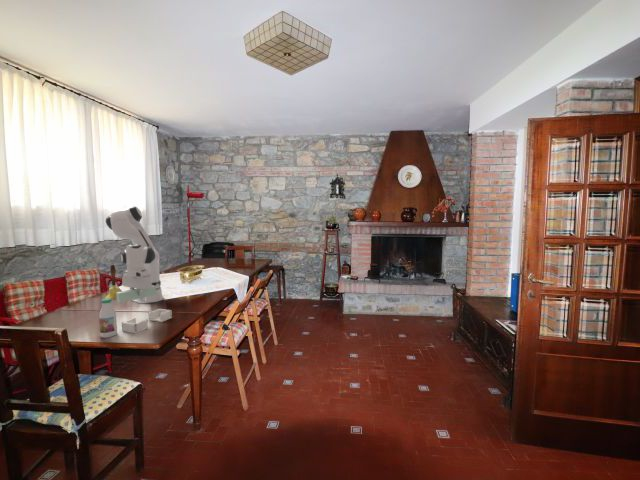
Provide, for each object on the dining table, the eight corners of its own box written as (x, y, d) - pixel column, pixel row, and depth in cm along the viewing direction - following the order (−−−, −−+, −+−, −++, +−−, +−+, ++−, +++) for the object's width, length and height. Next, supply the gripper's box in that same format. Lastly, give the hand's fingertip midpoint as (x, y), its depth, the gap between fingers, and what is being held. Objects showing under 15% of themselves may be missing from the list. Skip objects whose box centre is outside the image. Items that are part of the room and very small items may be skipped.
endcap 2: (159, 315, 204) (159, 308, 203) (171, 317, 200) (171, 310, 200) (149, 320, 196) (148, 312, 196) (161, 322, 193) (161, 314, 192)
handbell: (117, 299, 241) (115, 266, 238) (101, 299, 241) (98, 266, 239) (127, 294, 253) (125, 263, 251) (112, 294, 253) (110, 263, 251)
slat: (119, 302, 180) (119, 293, 179) (116, 301, 182) (116, 292, 181) (156, 294, 197) (156, 286, 196) (153, 293, 199) (153, 285, 198)
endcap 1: (135, 333, 176) (134, 324, 175) (122, 330, 179) (121, 322, 179) (147, 327, 183) (147, 319, 183) (134, 325, 187) (134, 317, 186)
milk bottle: (105, 332, 177) (103, 297, 175) (120, 332, 177) (117, 297, 175) (97, 338, 169) (94, 301, 167) (112, 337, 170) (109, 301, 168)
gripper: (118, 271, 189) (119, 294, 190) (143, 274, 181) (144, 298, 182) (128, 269, 194) (129, 291, 196) (153, 272, 187) (154, 295, 188)
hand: (137, 295), depth 189 cm, fingers closed on slat, 4 cm apart
